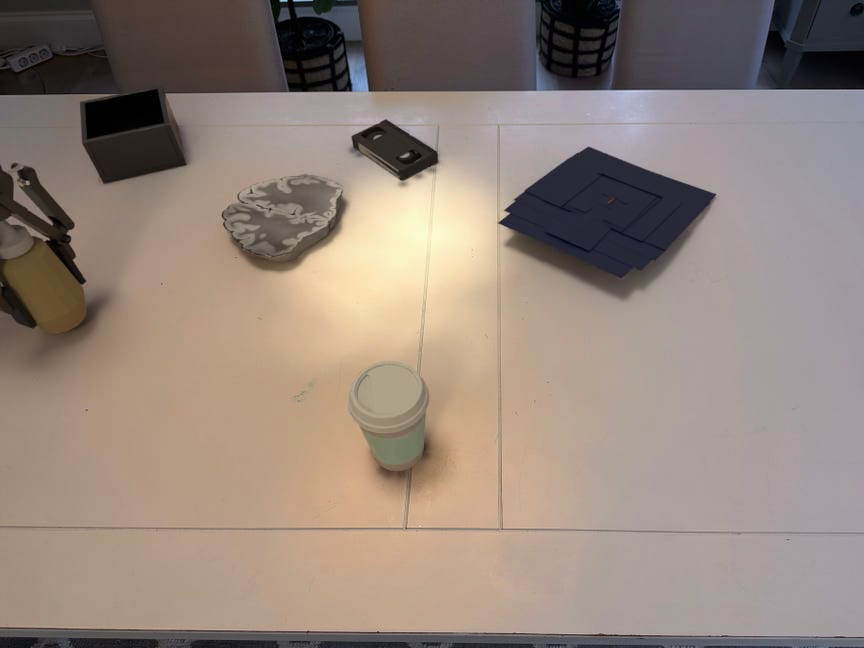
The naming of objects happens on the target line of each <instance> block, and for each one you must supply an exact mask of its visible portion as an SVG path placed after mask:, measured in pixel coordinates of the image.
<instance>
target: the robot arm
mask: <svg viewBox="0 0 864 648" xmlns="http://www.w3.org/2000/svg"><path fill="white" fill-rule="evenodd" d="M15 185H16V186H18V187H19V188H20V189H21V190H22V191H23V192H24V194H25V195H26V196H27V197H28V198H29V199H30V201H32V203H33V204H34V205H35V206H36V207H37V208H38V209H39V211H41V213H42V214H43V215H44V216H45V217H46V218H47V219H48V220H49V221H50V222H51V223H52V224H51V223H49V222H48V221H46V220H44V219H43V218H42V217H40V216H38V215H36V214H35V213H34V212H32V211H30V210H29V209H28V208H27V207H26V206H24V205H23V204H21V203H19V202H18V201H16V200H15V199H14V197H15V195H14V190H15ZM11 217H12V218H14V219H16V220H17V221H19V222H20V223H22V224H23V225H24V226H25V225H26V226H27V227H28V228H30V229H31V230H34V231H35V232H37V233H39V234H40V235H42V236H43V237H45V238H47V239H46V240H44V242H45V243H46V244H47V245H48V246H49V247H50V249H51V250H52V251H53V252H54V253H55V255H56V256H57V257H58V258H59V259H60V261H61V262H62V263H63V264H64V265H65V267H66V268H67V269H68V270H69V271H70V273H71V274H72V275H73V276H74V277H75V278H76V280H77V281H78V282H79V283H80V284H81V286H83V285H84V284H86V282H87V280H86V278H85V277H84V276H83V274H82V273H81V270H80V269H79V268H78V266H77V264H76V263H75V259H76V258H77V254H76V251H74V249H73V247H72V246H71V242H72V236H71V235H70V234H68V233H69V231H73V230H74V228H75V226H76V225H75V222H74V220H73V219H72V218H71V217H70V216H69V215H68V214H67V212H65V210H64V209H63V208H62V207H61V205H60V204H58V202H57V201H56V200H55V199H54V197H53V196H52V195H51V194H50V193H49V192H48V190H46V188H45V187H44V186H43V185H42V184H41V182H40V179H39V176H38V174H37V171H36V170H35V168H33V167H31V166H28V165H25V164H21V163H18V162H13V163H12V164H10V169H8V170H6V171H5V170H3V166H2V164H0V222H1V221H3V220H6V221H7V219H9V218H11ZM0 312H1V313H4V314H6V315H10V317H12V319H13V320H14V321H15V322H16V323H17V324H18V325H21V326H24V327H27V328H29V329H32V330H33V329H35V328H36V327H37V324H36V322H35V321H34V320H33V318H32V317H31V316H30V314H29V313H28V312H27V311H26V309H25V308H24V307H23V305H22V304H21V303H20V301H19V300H18V299H17V297H16V296H15V295H14V294H13V292H12V291H11V290H10V289H9V288H6V287H3V285H2V284H1V282H0Z"/></svg>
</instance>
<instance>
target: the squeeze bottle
mask: <svg viewBox="0 0 864 648" xmlns="http://www.w3.org/2000/svg"><path fill="white" fill-rule="evenodd" d="M0 283H1V286H3V287H6V288H9V289H10V290H11V291H12V292H13V294H14V295H15V296H16V297H17V299H18V300H19V301H20V303H21V304H22V305H23V307H24V308H25V309H26V311H27V312H28V313H29V314H30V316H31V317H32V318H33V320H34V321H35V322H36V324H37V326H36V327H37V328H39V329H40V330H42V331H44V332H47V333H48V334H49V333H50V334H62V333H65V332H68V331H70V330H73V329H75V328H76V327H78V326H79V325H80V324H81V323H82V322H83V321H84V320H85V318H86V316H87V304H86V299H85V292H84V286H83V285H81V284H80V283H79V282H78V281H77V280H76V278H75V277H74V276H73V275H72V274H71V273H70V271H69V270H68V269H67V268H66V267H65V265H64V264H63V263H62V262H61V261H60V259H59V258H58V257H57V256H56V255H55V253H54V252H53V251H52V250H51V249H50V247H49V246H48V245H47V244H46V243H45V240H44V239H43V238H41V237H38V236H35V235H31V233H30V231H29V230H28V229H27V228H26V227H25V225H24V226H23V225H21V224H11V223H10V222H8V221H7V219H6V220H3V221H1V222H0Z"/></svg>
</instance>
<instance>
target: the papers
mask: <svg viewBox="0 0 864 648" xmlns="http://www.w3.org/2000/svg"><path fill="white" fill-rule="evenodd" d="M716 196H717V193H715V192H711V191H709V190H706V189H703V188H700V187H697V186H694V185H691V184H689V183H686V182H683V181H681V180H677V179H673V178H672V177H668V176H666V175H663V174H661V173H657V172H654V171H651V170H648V169H646V168H643V167H641V166H638V165H635V164H633V163H631V162H629V161H626V160H623V159H622V158H618V157H616V156H614V155H611V154H608V153H606V152H603V151H601V150H599V149H596V148H593V147H592V146H587V147H585V148H583V149H582V150H581V151H579V152H576V153H575V154H574V155H572V156H570V157H568V158H566V159H565V160H564V161H563V162H561V163H560V164H559V165H557V166H556V167H554V168H553V169H551V170H550V171H549V172H548V173H546V174H545V175H543V176H542V177H541V178H539V179H538V180H536V181H535V182H533V184H531V185H530V186H528V187H526V188H525V189H524V191H523V192H522V193H520V194H519V195H517V197H515V198H514V199H513V202H512V203H511V204H510V205H509V206H507V207H506V208H505V209H503V211H504V212H506V213H508V215H506V216H505V217H504V218H502V219H501V220H499V221H497V224H498V225H500V226H503V227H504V228H508V229H509V230H512V231H514V232H517V233H519V234H521V235H523V236H526V237H528V238H529V239H530V238H531V239H533V240H534V241H537V242H539V243H542V244H543V245H546V246H549V247H550V248H553V249H554V250H555V249H556V250H558V251H560V252H562V253H564V254H566V255H567V256H571V257H573V258H575V259H577V260H580V261H581V262H584V263H585V264H588V265H590V266H592V267H594V268H597V269H598V270H601V271H603V272H605V273H607V274H610V275H612V276H614V277H616V278H618V279H621V280H622V279H624V278H625V276H626V275H628V274H629V273H630V272H631V271H632V270H633V269H636V270H638V271H641V272H642V271H643V269H644V268H646V267H647V266H648V265H649V264H650V263H651V261H656V260H657V259H658V258H660V257H661V256H662V255H663V254H664V253H665V252H666V251H667V250H668V248H669V247H670V246H671V245H672V244H673V243H674V242H675V241H676V240H677V239H678V238H679V237H680V236H681V235H682V234H683V232H685V231H686V229H687V228H688V227H689V226H690V225H691V224H692V223H693V222H695V220H696V219H697V218H698V217H699V216H700V214H701V213H703V212H704V211H705V210H706V208H707V207H708V206H709V205H710V204H711V203H712V201H713V200H714V199H715V197H716Z"/></svg>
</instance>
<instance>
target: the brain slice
mask: <svg viewBox="0 0 864 648" xmlns="http://www.w3.org/2000/svg"><path fill="white" fill-rule="evenodd" d="M343 189H344V186H342V184H340V183H339V182H336V181H334V180H332V179H330V178H329V179H328V178H324V177H321V176H317V175H313V174H307V173H301V174H299V175H293V176H284V177H281V178H272V179H269V180H266V181H262V182H257V183H255V184H252V185H250V186H249V187H247V188H246V187H245V188H244V189H242V190H240V191H239V192H238V194H237V195H236V196H237V200H238V201H239V202H234V203H232V204H229V205H228V206H227V207H226V209H224V210H223V211H222V212H221V218H222V219H223V220H224V221H223V222H222V226H223V228H224V229H225V231H227V232H229V233H230V236H231V238H232V239H233V240H235V242H236V243H237V244H238V245H239V246H240V248H241V249H242V250H243V251H245V252H246V253H248V254H250V255H252V256H256V257H258V258H263V259H267V260H268V261H270V262H288V261H291V260H295V259H297V258H298V257H299V256H300V255H301V254H303V253H304V252H306V251H308V250H309V249H310V248H311V247H314V246H315V245H317V243H319V242H320V240H322V239H324V237H326V235H328V233H329V231H331V229H332V228H334V225H335V224H336V219H337V213H338V212H339V206H340V205H341V203H342V199H343V191H344V190H343Z"/></svg>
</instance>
